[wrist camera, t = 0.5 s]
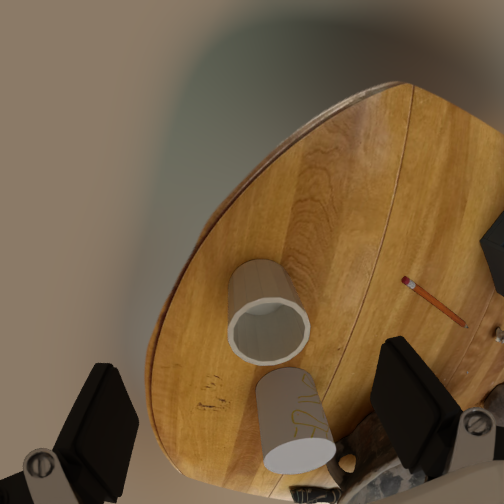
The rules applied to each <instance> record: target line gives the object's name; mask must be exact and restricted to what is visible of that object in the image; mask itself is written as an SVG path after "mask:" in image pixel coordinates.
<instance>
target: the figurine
mask: <svg viewBox="0 0 504 504" xmlns="http://www.w3.org/2000/svg"><path fill="white" fill-rule="evenodd" d="M495 341H496V342H497V341H499V342H500V341H501V343H504V331H502V330H501V329H500V328H499V327H498V328H497V330H496V339H495ZM467 374H468V371H467Z"/></svg>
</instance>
